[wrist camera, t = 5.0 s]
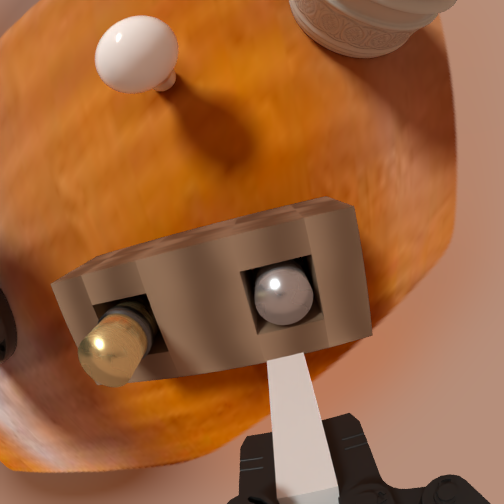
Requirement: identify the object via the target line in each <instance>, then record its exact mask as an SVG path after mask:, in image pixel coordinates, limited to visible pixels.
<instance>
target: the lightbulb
mask: <svg viewBox="0 0 504 504" xmlns="http://www.w3.org/2000/svg"><path fill="white" fill-rule="evenodd" d="M177 58H178V42H177V38H176V36H175V34H174V32H173V31H172V29H171V28H170V27H169V26H168V25H167V24H166V23H164V22H163V21H161V20H159V19H157V18H154V17H151V16H132V17H128V18H125V19H123V20H121V21H119V22H117V23H115V24H114V25H113V26H111V27H110V28H109V29H108V30H107V31H106V32H105V33H104V35H103V36H102V38H101V39H100V41H99V43H98V46H97V48H96V53H95V65H96V69H97V72H98V74H99V76H100V78H101V79H102V81H103V82H104V83H105V84H106V85H107V86H109V87H110V88H112V89H114V90H116V91H118V92H122V93H128V94H135V93H142V92H146V91H148V90H151V89H154V90H156V91H165V90H168V89H169V88H171V87H172V86H173V84H174V83H175V80H176V73H175V71H174V67H175V65H176V62H177Z"/></svg>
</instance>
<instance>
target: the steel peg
mask: <svg viewBox="0 0 504 504" xmlns="http://www.w3.org/2000/svg"><path fill="white" fill-rule="evenodd" d="M252 282H253V289H254V292H255V305H256V308H257V310H258V312H259V314H260V315H261V316H262V317H263V318H264V319H265V320H267V321H268V322H271V323H273V324H277V325H288V324H292V323H295V322H297V321H299V320H301V319H302V318H303V317H304V316H305V315H306V314H307V313H308V312H309V310H310V308H311V306H312V303H313V291H312V288H311V286H310V284H309V281H308V274H307V271H306V269H305V267H304V265H303V263H302V262H301V261H300V259H298V258H294V259H290V260H286V261H282V262H278V263H274V264H270V265H265V266H261V267H257V268H255V269H254V272H253V280H252Z"/></svg>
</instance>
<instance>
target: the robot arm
mask: <svg viewBox="0 0 504 504" xmlns="http://www.w3.org/2000/svg"><path fill="white" fill-rule="evenodd" d="M16 342H17V336H16V327H15V323H14V319H13V316H12V313H11V310H10V307H9V305H8V303H7V301H6V299H5V297H4V295H3V293H2V291H1V290H0V364H1V363H3V362H4V361H5V360H7V359H8V358H9V357H10V356H11V355H12V354H13V353H14V351H15V348H16ZM267 369H268V382H269V395H270V408H271V421H272V432H270V433H264V434H258V435H252V436H247V437H246V439H245V441H244V442H243V444H242V446H241V449H240V479H239V495H238V496H237V497H235V498H233V499H231V500H230V501H229V502H228V503H227V504H490V503H489V502H488V501H487V500H486V499H485V498H484V497H483V496H482V495H481V494H480V493H478V491H476V490H475V489H474V488H473V487H472V486H471V485H470V484H469V483H468V482H467V481H466V480H465V479H463V478H461V477H460V476H457V475H444V476H440V477H438V478H436V479H434V480H432V481H431V482H430V483H429V484H428V485H427V486H426V487H421V488H412V489H398V488H393V487H391V486H389V485H387V484H386V483H385V482H384V481H383V480H382V478H381V476H380V474H379V471H378V468H377V466H376V463H375V460H374V458H373V455H372V453H371V450H370V448H369V445H368V443H367V439H366V437H365V435H364V432H363V429H362V427H361V424H360V422H359V420H357V419H356V418H355V417H354V416H353V415H351V414H350V413H347V414H344V415H340V416H337V417H333V418H329V419H326V420H321V416H320V413H319V409H318V405H317V401H316V397H315V394H314V390H313V386H312V382H311V379H310V375H309V371H308V367H307V364H306V360H305V356H304V353H298V354H294V355H290V356H286V357H282V358H277V359H273V360H268V361H267Z"/></svg>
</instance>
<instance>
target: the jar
mask: <svg viewBox="0 0 504 504" xmlns="http://www.w3.org/2000/svg"><path fill="white" fill-rule="evenodd" d="M456 1H457V0H289V3H290V7H291V11H292V14H293V16H294V18H295V20H296V22H297V23H298V25H299V26H300V27H301V29H302V30H303V31H304V32H305V33H306V34H307V35H308V36H309V37H310V38H312V39H313V40H314V41H315V42H317V43H318V44H320V45H322V46H323V47H325V48H327V49H329V50H331V51H333V52H336V53H339V54H342V55H345V56H349V57H355V58H373V57H378V56H382V55H385V54H388V53H391V52H393V51H395V50H396V49H398V48H399V47H400V46H402V45H403V44H404V43H405V42H406V41H407V40H408V39H409V37H410V36H411V35H412V34H414V33H415V32H416V31H417V30H419V29H420V28H422V27H424V26H426V25H428V24H430V23H431V22H432V21H433V20H434V19H435V18H436V17H437V15H438V13H441V12H444V11H446V10H448V9H449V8H451V7H452V6H453V5H454V4H455V3H456Z"/></svg>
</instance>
